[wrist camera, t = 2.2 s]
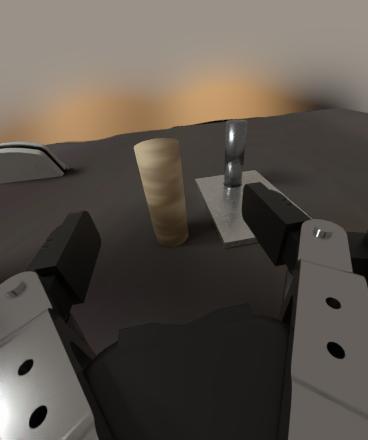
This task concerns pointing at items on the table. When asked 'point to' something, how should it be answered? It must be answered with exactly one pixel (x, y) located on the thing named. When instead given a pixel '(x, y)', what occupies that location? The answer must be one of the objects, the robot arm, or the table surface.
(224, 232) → the bolt plate
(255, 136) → the table surface
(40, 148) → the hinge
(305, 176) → the table surface
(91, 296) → the table surface
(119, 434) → the robot arm
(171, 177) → the oak post
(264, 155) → the table surface
